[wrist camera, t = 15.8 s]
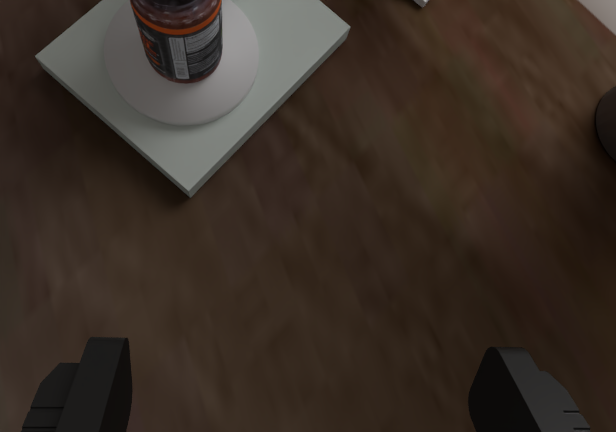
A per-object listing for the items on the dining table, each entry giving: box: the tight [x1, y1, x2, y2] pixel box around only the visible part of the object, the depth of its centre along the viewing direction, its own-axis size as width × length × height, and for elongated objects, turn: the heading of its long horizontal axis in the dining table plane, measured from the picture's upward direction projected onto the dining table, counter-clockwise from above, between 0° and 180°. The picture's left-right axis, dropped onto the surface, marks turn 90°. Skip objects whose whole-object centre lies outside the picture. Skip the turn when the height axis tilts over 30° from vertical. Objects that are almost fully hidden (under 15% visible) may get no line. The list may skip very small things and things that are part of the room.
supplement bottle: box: [130, 0, 223, 84], centre depth 37 cm, size 6×6×11 cm
